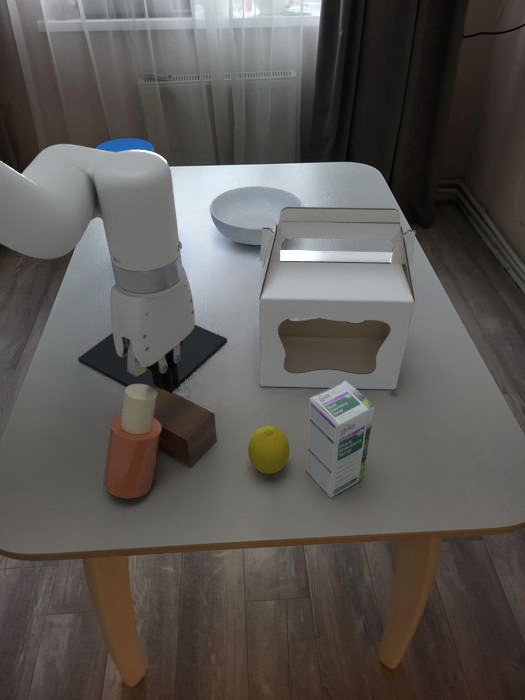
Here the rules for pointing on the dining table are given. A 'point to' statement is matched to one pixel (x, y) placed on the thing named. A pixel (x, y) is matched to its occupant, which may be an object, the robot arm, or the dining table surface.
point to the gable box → (335, 300)
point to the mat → (115, 367)
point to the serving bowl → (250, 211)
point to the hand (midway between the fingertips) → (166, 385)
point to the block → (184, 427)
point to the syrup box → (338, 437)
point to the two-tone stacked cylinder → (133, 444)
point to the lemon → (268, 449)
